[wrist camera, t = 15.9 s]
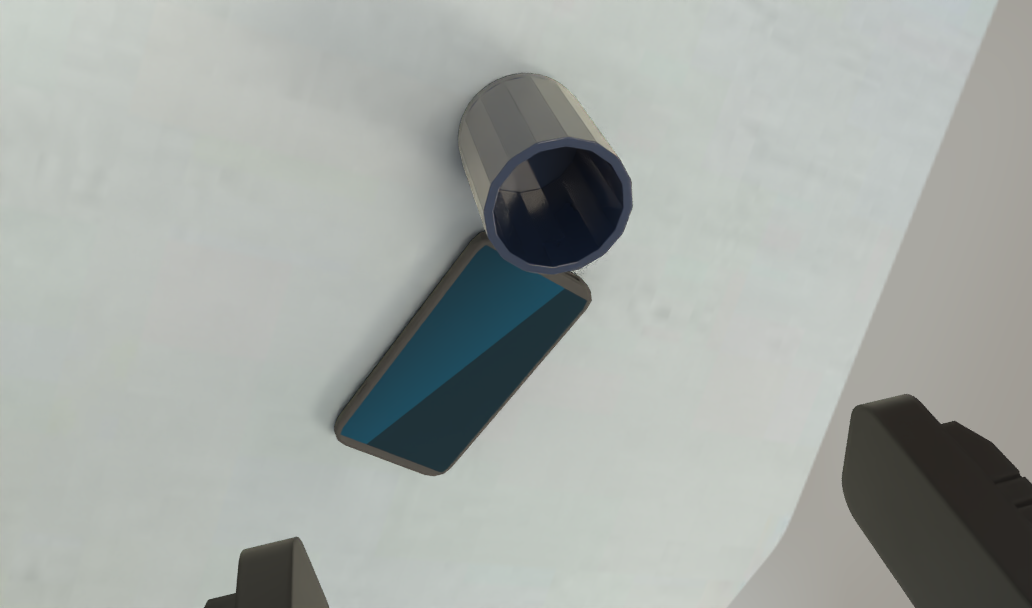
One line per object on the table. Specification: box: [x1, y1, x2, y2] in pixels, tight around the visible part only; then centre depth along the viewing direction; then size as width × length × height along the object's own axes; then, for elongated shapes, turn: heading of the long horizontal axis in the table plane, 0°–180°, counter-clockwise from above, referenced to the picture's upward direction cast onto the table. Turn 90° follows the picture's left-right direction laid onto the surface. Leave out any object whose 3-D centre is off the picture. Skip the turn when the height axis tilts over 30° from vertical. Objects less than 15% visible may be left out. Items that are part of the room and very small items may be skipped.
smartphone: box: [334, 232, 592, 476], centre depth 45 cm, size 8×15×1 cm, turn 142°
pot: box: [458, 73, 633, 275], centre depth 36 cm, size 6×6×8 cm
